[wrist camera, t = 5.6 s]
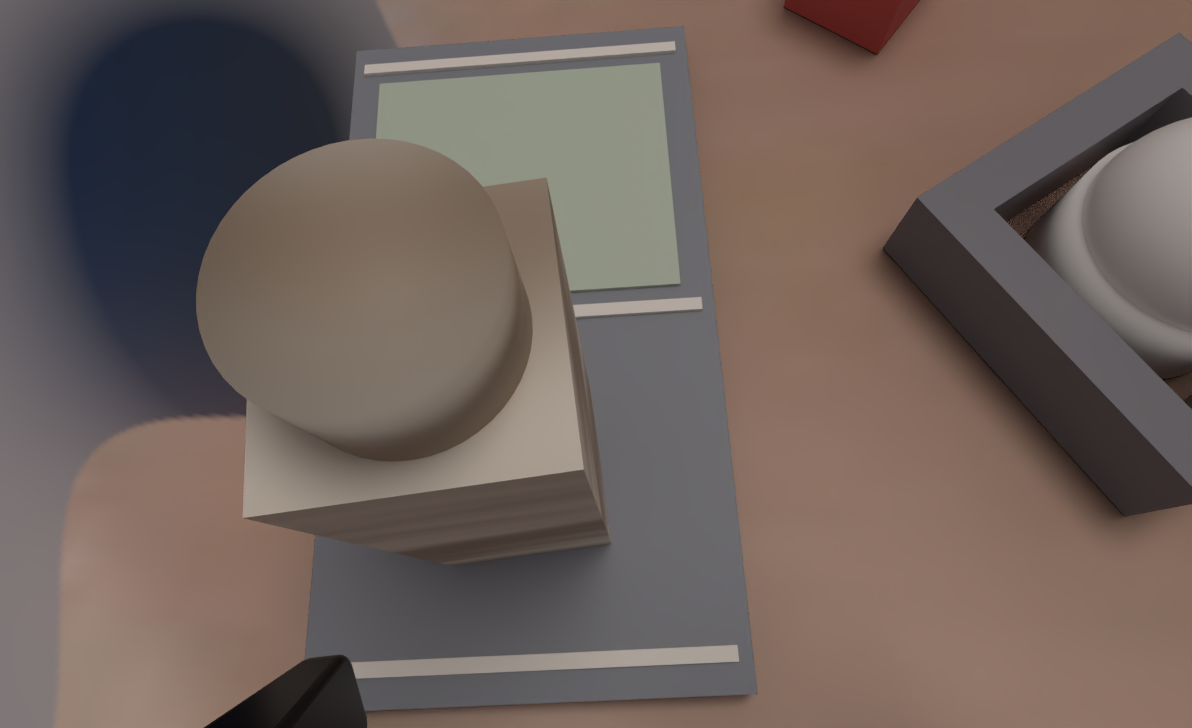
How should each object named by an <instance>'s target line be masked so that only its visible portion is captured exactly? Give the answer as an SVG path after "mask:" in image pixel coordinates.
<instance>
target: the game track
mask: <svg viewBox="0 0 1192 728" xmlns="http://www.w3.org/2000/svg"><path fill="white" fill-rule="evenodd" d="M358 139H391V140H399V141H406V142H410V143H413V144H417V145H421V146H424V147H427V148H429V149H432V150H434V151H437V152H439V153H441V154H443V155H445V156H446V157H448V158H450V159H452V160H453V161H455V162H456V163H458V164H459V165H460V166H462V167H463V168H464V169H466V170H467V171H468V172H469V173H470V174H471V175H472V176H473V177H474V178H475V179H476V180H477V181H478V182H479V183H480V184H481V185H482V187H484V186H491V185H498V184H505V183H512V182H519V181H526V180H533V179H539V178H546V177H547V182H548V187H549V192H550V197H551V202H552V206H553V211H554V216H555V221H556V226H557V231H558V235H559V240H560V245H561V250H562V255H563V260H564V264H565V269H566V274H567V279H568V284H569V288H570V293H571V298H572V303H573V308H574V313H575V317H576V322H577V327H578V332H579V337H580V342H581V346H582V351H583V356H584V361H585V366H586V371H587V375H588V380H589V385H590V390H591V397H592V404H593V412H594V419H595V426H596V434H597V441H598V448H599V456H600V463H601V470H602V478H603V485H604V492H605V500H606V507H607V514H608V522H609V529H610V536H611V544H604V545H597V546H590V547H583V548H576V549H569V550H562V551H555V552H548V553H541V554H534V555H527V556H520V557H513V558H506V559H498V560H491V561H484V562H477V563H470V564H463V565H456V566H449V565H445V564H440V563H436V562H431V561H427V560H423V559H418V558H414V557H410V556H405V555H401V554H397V553H392V552H388V551H384V550H379V549H375V548H371V547H366V546H362V545H358V544H353V543H349V542H345V541H340V540H336V539H332V538H327V537H323V536H319V535H315V545H314V557H313V568H312V580H311V592H310V603H309V615H308V626H307V638H306V650H305V660H306V659H308V658H313V657H322V656H331V655H344V656H346V657H347V658H348V659H349V660H350V662H351V664H352V667H353V670H354V674H355V677H356V681H357V684H358V688H359V691H360V695H361V699H362V702H363V706H364V709H365V711H376V710H400V709H423V708H446V707H470V706H493V705H516V704H539V703H563V702H586V701H609V700H633V699H656V698H679V697H703V696H726V695H749V694H757V685H756V676H755V667H754V658H753V649H752V640H751V630H750V621H749V612H748V603H747V594H746V585H745V576H744V567H743V558H742V549H741V540H740V531H739V522H738V513H737V504H736V495H735V485H734V476H733V467H732V458H731V449H730V440H729V431H728V422H727V413H726V404H725V395H724V386H723V377H722V368H721V359H720V350H719V340H718V331H717V322H716V313H715V304H714V295H713V286H712V277H711V268H710V259H709V250H708V241H707V232H706V223H705V214H704V205H703V196H702V186H701V177H700V168H699V159H698V150H697V141H696V132H695V123H694V114H693V105H692V96H691V87H690V78H689V69H688V60H687V51H686V41H685V32H684V26H678V27H665V28H652V29H639V30H626V31H613V32H600V33H588V34H575V35H562V36H549V37H536V38H523V39H510V40H497V41H484V42H471V43H458V44H445V45H432V46H419V47H406V48H393V49H381V50H367V51H357V57H356V68H355V81H354V92H353V103H352V115H351V127H350V138H349V140H358Z"/></svg>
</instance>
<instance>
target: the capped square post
mask: <svg viewBox="0 0 1192 728" xmlns="http://www.w3.org/2000/svg"><path fill="white" fill-rule="evenodd" d="M196 305H197V308H196V311H197V318H198V325H199V330H200V333H201V337H202V340H203V343H204V346H205V348H206V350H207V352H208V354H209V356H210V358H211V360H212V362H213V364H214V365H215V367H216V368H217V370H218V371H219V372H220V374H221V375H222V376H223V378H224V379H225V380H226V381H227V382H228V383H229V384H230V385H231V386H232V387H233V388H234V389H235V390H236V391H237V392H238V393H240V394H241V395H242V396H244V397H245V398H246V399H247V417H246V444H245V472H244V499H243V518H245V519H249V520H253V521H258V522H262V523H266V524H271V525H275V526H279V527H284V528H288V529H293V530H297V531H301V532H306V533H310V534H314V535H319V536H323V537H327V538H332V539H336V540H340V541H345V542H349V543H353V544H358V545H362V546H366V547H371V548H375V549H379V550H384V551H388V552H392V553H397V554H401V555H405V556H410V557H414V558H418V559H423V560H427V561H431V562H436V563H440V564H445V565H449V566H456V565H463V564H470V563H477V562H484V561H491V560H498V559H506V558H513V557H520V556H527V555H534V554H541V553H548V552H555V551H562V550H569V549H576V548H583V547H590V546H597V545H604V544H611V536H610V529H609V522H608V514H607V507H606V500H605V492H604V485H603V478H602V470H601V463H600V456H599V448H598V441H597V434H596V426H595V419H594V412H593V404H592V397H591V390H590V385H589V380H588V375H587V371H586V366H585V361H584V356H583V351H582V346H581V342H580V337H579V332H578V327H577V322H576V317H575V313H574V308H573V303H572V298H571V293H570V288H569V284H568V279H567V274H566V269H565V264H564V260H563V255H562V250H561V245H560V240H559V235H558V231H557V226H556V221H555V216H554V211H553V206H552V202H551V197H550V192H549V187H548V182H547V177H546V178H539V179H533V180H526V181H519V182H512V183H505V184H498V185H491V186H484V187H482V185H481V184H480V183H479V182H478V181H477V180H476V179H475V178H474V177H473V176H472V175H471V174H470V173H469V172H468V171H467V170H466V169H464V168H463V167H462V166H460V165H459V164H458V163H456V162H455V161H453V160H452V159H450V158H448V157H446V156H445V155H443V154H441V153H439V152H437V151H434V150H432V149H429V148H427V147H424V146H421V145H417V144H413V143H410V142H406V141H399V140H391V139H358V140H348V141H344V142H339V143H333V144H329V145H326V146H323V147H320V148H317V149H314V150H311V151H308V152H306V153H304V154H301V155H299V156H297V157H295V158H292V159H291V160H289V161H287V162H286V163H284V164H282V165H280V166H278V167H277V168H275V169H274V170H272V171H271V172H269V173H268V174H267V175H265V176H264V177H262V178H261V179H260V180H259V181H257V182H256V183H255V184H254V185H253V186H252V187H251V188H249V189H248V190H247V191H246V192H245V193H244V194H243V195H242V196H241V197H240V198H239V200H238V201H237V202H236V203H235V204H234V205H233V206H232V207H231V209H230V210H229V211H228V213H227V214H226V216H225V217H224V218H223V220H222V221H221V223H220V224H219V226H218V228H217V230H216V231H215V233H214V235H213V237H212V238H211V241H210V243H209V245H208V248H207V250H206V252H205V255H204V258H203V261H202V265H201V269H200V273H199V278H198V284H197V292H196Z"/></svg>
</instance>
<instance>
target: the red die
mask: <svg viewBox="0 0 1192 728" xmlns="http://www.w3.org/2000/svg"><path fill="white" fill-rule="evenodd" d="M919 1H920V0H786V1H785V5H784V7H786V8H787V9H789V10H791V11H793V12H795V13H797V14H799V15H801V16H803V17H805V18H807V19H809V20H811V21H813V22H815V23H817V24H819V25H821V26H823V27H825V28H827V29H829V30H831V31H833V32H835V33H837V34H838V35H840V36H842V37H844V38H846V39H848V40H850V41H852V42H854V43H856V44H858V45H860V46H862V47H864V48H866V49H868V50H870V51H872V52H874V53H876V54H878V53H879V52H880V51H881V49H882V48H883V47H884V45H885V44H886V43H887V42H888V40H889V39H890V38H891V36H892V35H893V34H894V33H895V31H896V30H897V29H898V28H899V26H900V25H901V24H902V22H903V21H904V20H905V19H906V17H907V16H908V15H909V13H910V12H911V11H912V10H913V8H914V7H915V6H916V4H917V3H918V2H919Z"/></svg>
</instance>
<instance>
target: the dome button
mask: <svg viewBox="0 0 1192 728" xmlns="http://www.w3.org/2000/svg"><path fill="white" fill-rule="evenodd" d="M1025 241H1026V242H1027V243H1028V244H1029V245H1030V246H1031V247H1032V248H1033V249H1034V250H1035V251H1036V252H1037V253H1038V254H1039V255H1040V256H1041V257H1042V258H1043V260H1044V261H1045V262H1046V263H1047V264H1048V265H1049V266H1050V267H1051V268H1052V269H1053V270H1054V271H1055V272H1056V273H1057V274H1058V275H1059V276H1060V277H1061V278H1062V279H1063V280H1064V281H1065V282H1066V283H1067V284H1068V285H1069V286H1070V287H1071V288H1072V289H1073V290H1074V291H1075V292H1076V293H1077V294H1078V295H1079V296H1080V297H1081V298H1082V299H1083V300H1084V301H1085V302H1086V303H1087V304H1088V305H1089V306H1090V307H1091V308H1092V309H1093V310H1094V311H1095V312H1096V313H1097V314H1098V315H1099V316H1100V317H1101V318H1102V319H1103V320H1104V321H1105V322H1106V323H1107V324H1108V325H1109V326H1110V327H1111V328H1112V329H1113V330H1114V331H1115V332H1116V333H1117V334H1118V335H1119V336H1120V337H1121V338H1122V339H1123V340H1124V341H1125V342H1126V343H1127V344H1128V345H1129V346H1130V347H1131V348H1132V350H1133V351H1134V352H1135V353H1136V354H1137V355H1138V356H1139V357H1140V358H1141V359H1142V360H1143V361H1144V362H1145V363H1146V364H1147V365H1148V366H1149V367H1150V368H1151V369H1152V370H1153V371H1154V372H1155V373H1156V374H1157V375H1158V376H1159V377H1160V378H1161V379H1166V378H1173V377H1177V376H1180V375H1184V374H1187V373H1189V372H1192V117H1191V118H1188V119H1184V120H1180V121H1177V122H1174V123H1172V124H1169V125H1166V126H1164V127H1162V128H1159V129H1157V130H1155V131H1152V132H1151V133H1149V134H1147V135H1145V136H1143V137H1142V138H1140V139H1138V140H1137V141H1135V142H1133V143H1130V144H1127V145H1125V146H1122V147H1120V148H1118V149H1116V150H1114V151H1112V152H1111V153H1109V154H1107V155H1106V156H1105V157H1103V158H1102V159H1101V160H1100V161H1098V162H1097V163H1096V164H1095V165H1094V166H1093V167H1092V168H1091V169H1090V170H1089V171H1088V172H1087V173H1086V174H1085V175H1084V176H1083V177H1082V178H1081V179H1080V180H1079V181H1078V182H1077V183H1076V184H1075V185H1073V186H1072V187H1071V188H1070V189H1069V190H1068V191H1067V192H1066V193H1065V194H1064V195H1063V196H1062V197H1061V198H1060V199H1059V200H1058V201H1057V202H1056V203H1055V204H1054V205H1053V206H1052V207H1051V208H1050V209H1049V210H1048V211H1047V212H1046V213H1045V214H1043V215H1042V216H1041V217H1040V218H1039V220H1038V221H1037V222H1036V223H1035V224H1034V225H1033V226H1032V228H1031V229H1030V231H1029V232H1028V234H1027V236H1026V238H1025Z"/></svg>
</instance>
